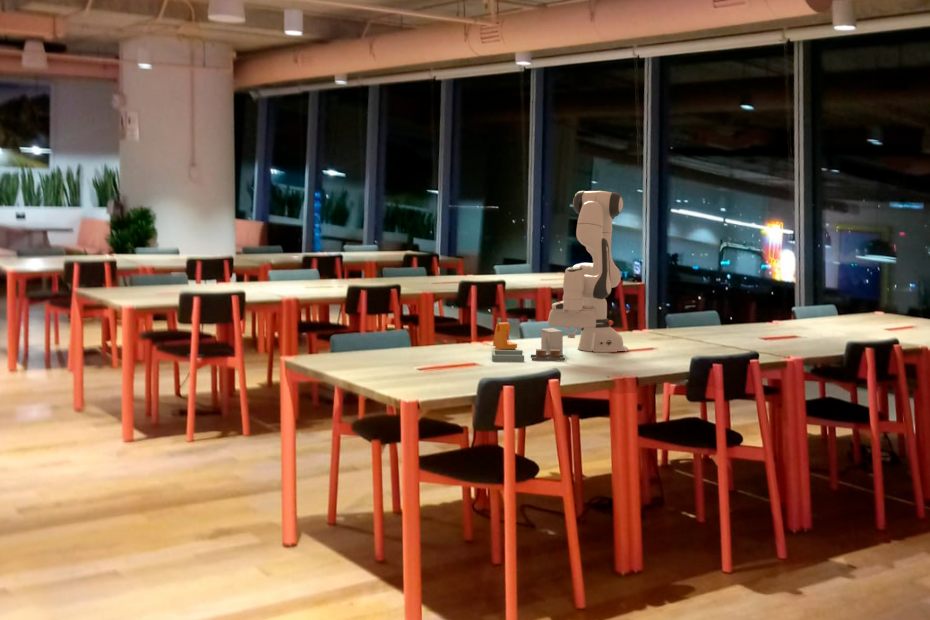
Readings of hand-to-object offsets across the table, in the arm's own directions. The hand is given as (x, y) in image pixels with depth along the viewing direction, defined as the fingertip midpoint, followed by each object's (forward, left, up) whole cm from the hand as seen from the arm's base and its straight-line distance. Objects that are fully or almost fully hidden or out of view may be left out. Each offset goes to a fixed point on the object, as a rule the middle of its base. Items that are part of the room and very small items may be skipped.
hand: (571, 337), depth 433 cm
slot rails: (+10, -1, -9) cm, 13 cm away
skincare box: (+7, -18, -10) cm, 21 cm away
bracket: (+27, -30, -10) cm, 41 cm away
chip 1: (+13, -1, -9) cm, 16 cm away
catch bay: (+26, -1, -9) cm, 28 cm away
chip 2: (+7, -1, -9) cm, 11 cm away
